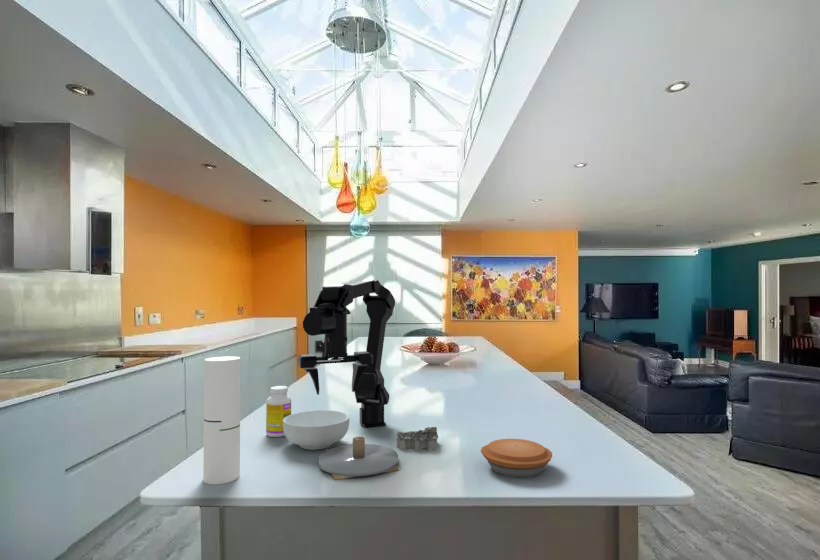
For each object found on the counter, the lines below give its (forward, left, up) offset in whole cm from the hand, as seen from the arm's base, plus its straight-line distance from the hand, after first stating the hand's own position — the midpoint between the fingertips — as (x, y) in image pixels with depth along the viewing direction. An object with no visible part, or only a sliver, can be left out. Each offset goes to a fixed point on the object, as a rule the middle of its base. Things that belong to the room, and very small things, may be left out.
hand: (335, 392), depth 120 cm
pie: (-34, +31, -13) cm, 48 cm away
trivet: (-2, +16, -13) cm, 21 cm away
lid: (-2, +16, -12) cm, 20 cm away
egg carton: (-19, +9, -14) cm, 25 cm away
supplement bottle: (+13, -14, -13) cm, 23 cm away
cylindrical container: (+27, +13, -13) cm, 33 cm away
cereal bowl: (+5, -1, -13) cm, 14 cm away
